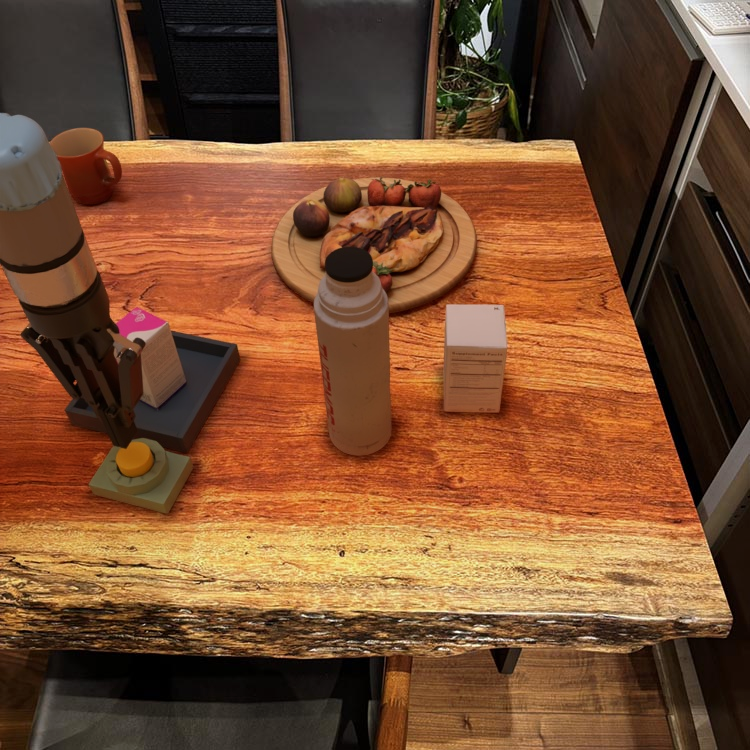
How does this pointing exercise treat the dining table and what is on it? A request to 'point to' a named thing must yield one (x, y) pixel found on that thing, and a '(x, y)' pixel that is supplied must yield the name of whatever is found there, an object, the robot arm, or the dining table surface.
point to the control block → (144, 479)
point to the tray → (177, 395)
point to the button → (135, 459)
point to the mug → (86, 165)
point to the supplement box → (154, 356)
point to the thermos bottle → (354, 352)
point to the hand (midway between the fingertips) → (125, 438)
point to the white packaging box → (474, 357)
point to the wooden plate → (378, 237)
